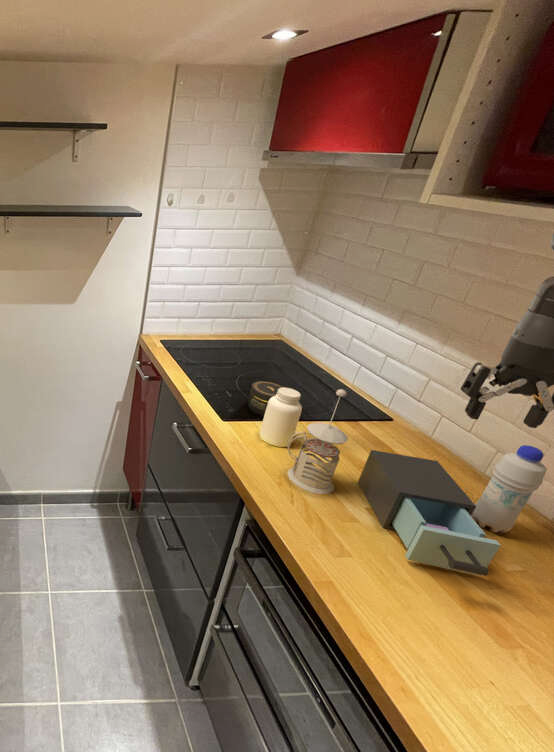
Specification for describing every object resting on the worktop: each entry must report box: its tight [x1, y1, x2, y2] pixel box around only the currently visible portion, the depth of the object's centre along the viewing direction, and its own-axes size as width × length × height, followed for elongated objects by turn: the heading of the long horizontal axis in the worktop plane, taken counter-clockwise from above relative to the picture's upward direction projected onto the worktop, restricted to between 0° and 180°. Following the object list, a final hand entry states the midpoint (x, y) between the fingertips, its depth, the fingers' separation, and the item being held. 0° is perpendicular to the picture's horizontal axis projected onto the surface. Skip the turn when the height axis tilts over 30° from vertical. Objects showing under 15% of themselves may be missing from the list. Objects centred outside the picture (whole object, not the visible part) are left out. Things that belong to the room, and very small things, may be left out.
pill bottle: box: [259, 387, 303, 448], centre depth 120 cm, size 8×8×15 cm
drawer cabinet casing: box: [357, 449, 476, 531], centre depth 97 cm, size 15×13×10 cm
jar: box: [247, 380, 285, 417], centre depth 136 cm, size 10×10×8 cm
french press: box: [286, 388, 349, 495], centre depth 103 cm, size 10×12×25 cm
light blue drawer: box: [391, 496, 501, 577], centre depth 86 cm, size 19×12×8 cm, turn 163°
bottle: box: [471, 444, 547, 534], centre depth 92 cm, size 7×7×20 cm
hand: (500, 421), depth 81 cm, fingers open, 8 cm apart
